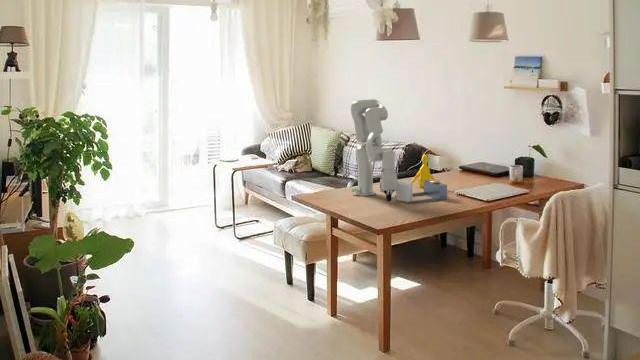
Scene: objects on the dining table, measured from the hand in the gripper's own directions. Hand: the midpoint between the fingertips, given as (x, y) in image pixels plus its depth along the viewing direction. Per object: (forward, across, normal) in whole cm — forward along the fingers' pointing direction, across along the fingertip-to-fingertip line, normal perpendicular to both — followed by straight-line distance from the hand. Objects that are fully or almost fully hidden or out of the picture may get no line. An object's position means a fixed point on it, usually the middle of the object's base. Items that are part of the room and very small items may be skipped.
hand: (388, 200), depth 350 cm
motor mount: (+1, +22, 0) cm, 22 cm away
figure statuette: (+1, +40, +28) cm, 49 cm away
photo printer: (+1, +10, 0) cm, 10 cm away
